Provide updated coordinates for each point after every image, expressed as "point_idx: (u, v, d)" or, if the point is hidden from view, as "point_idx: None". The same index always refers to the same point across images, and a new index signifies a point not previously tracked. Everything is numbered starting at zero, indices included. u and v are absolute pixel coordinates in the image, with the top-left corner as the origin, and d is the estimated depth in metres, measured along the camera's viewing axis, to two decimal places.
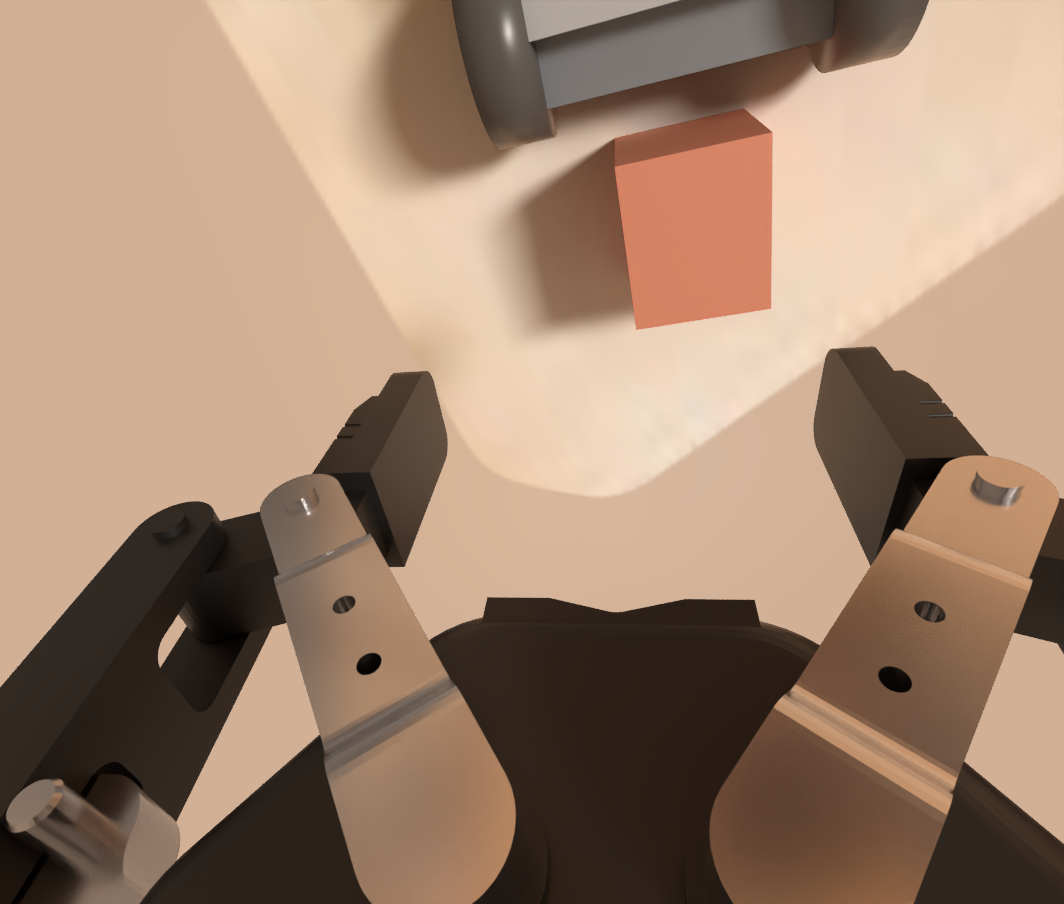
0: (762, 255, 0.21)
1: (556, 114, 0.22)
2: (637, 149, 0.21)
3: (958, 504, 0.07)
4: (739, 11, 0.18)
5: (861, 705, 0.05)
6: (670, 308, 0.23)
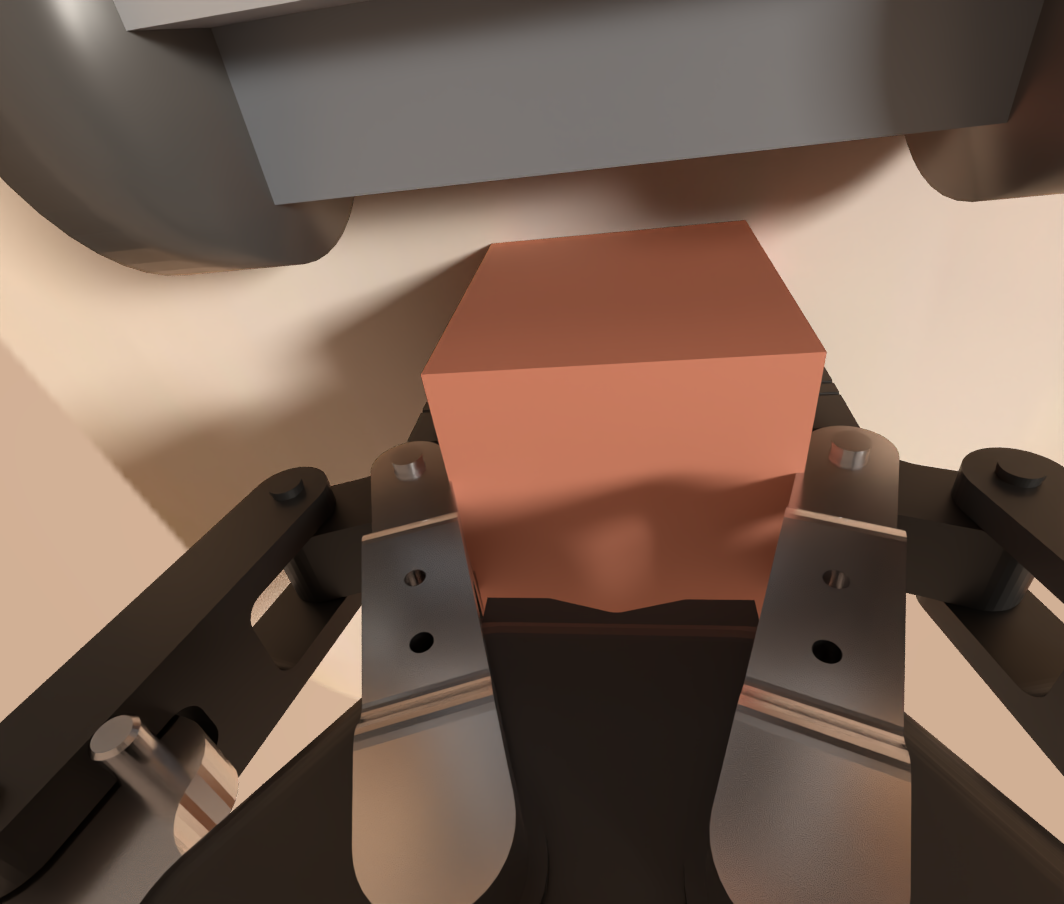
0: (764, 578, 0.09)
1: (350, 197, 0.10)
2: (505, 307, 0.09)
3: (825, 473, 0.08)
4: (766, 17, 0.06)
5: (806, 684, 0.05)
6: None
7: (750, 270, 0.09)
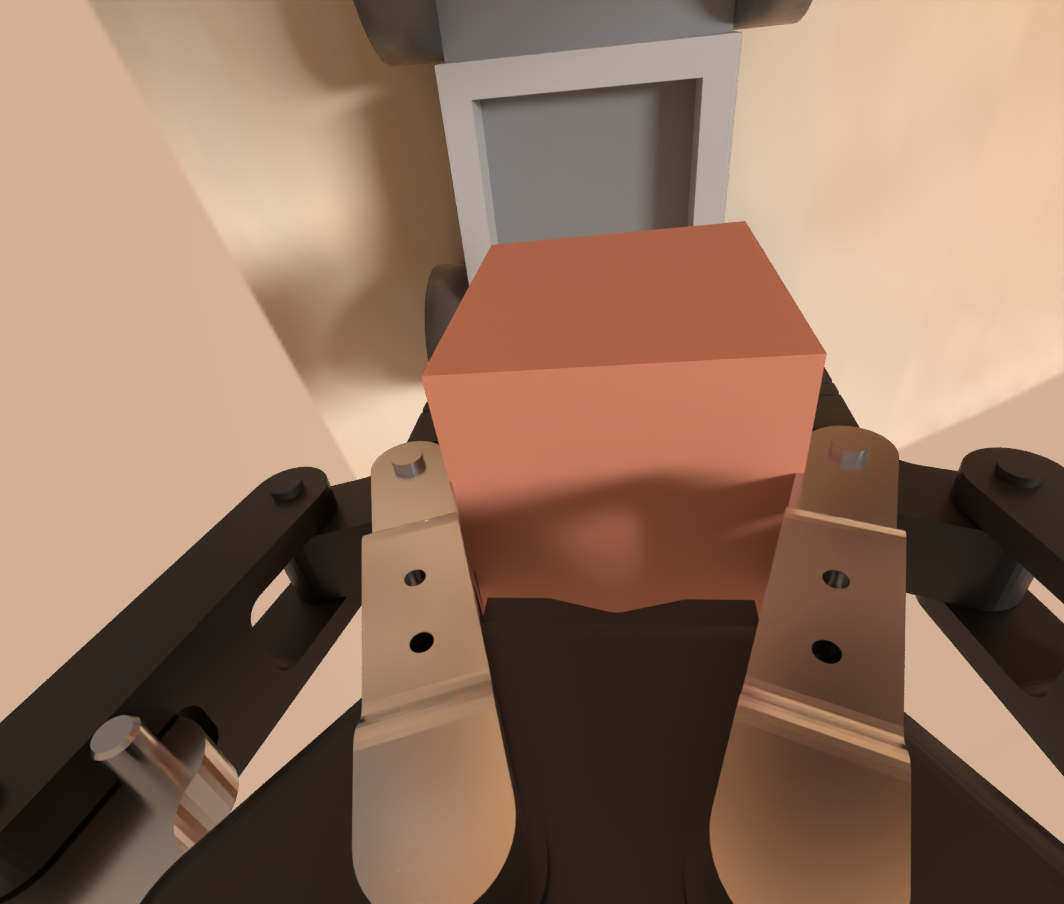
0: (764, 579, 0.09)
1: None
2: (505, 309, 0.09)
3: (825, 473, 0.08)
4: None
5: (806, 684, 0.05)
6: None
7: (750, 271, 0.09)
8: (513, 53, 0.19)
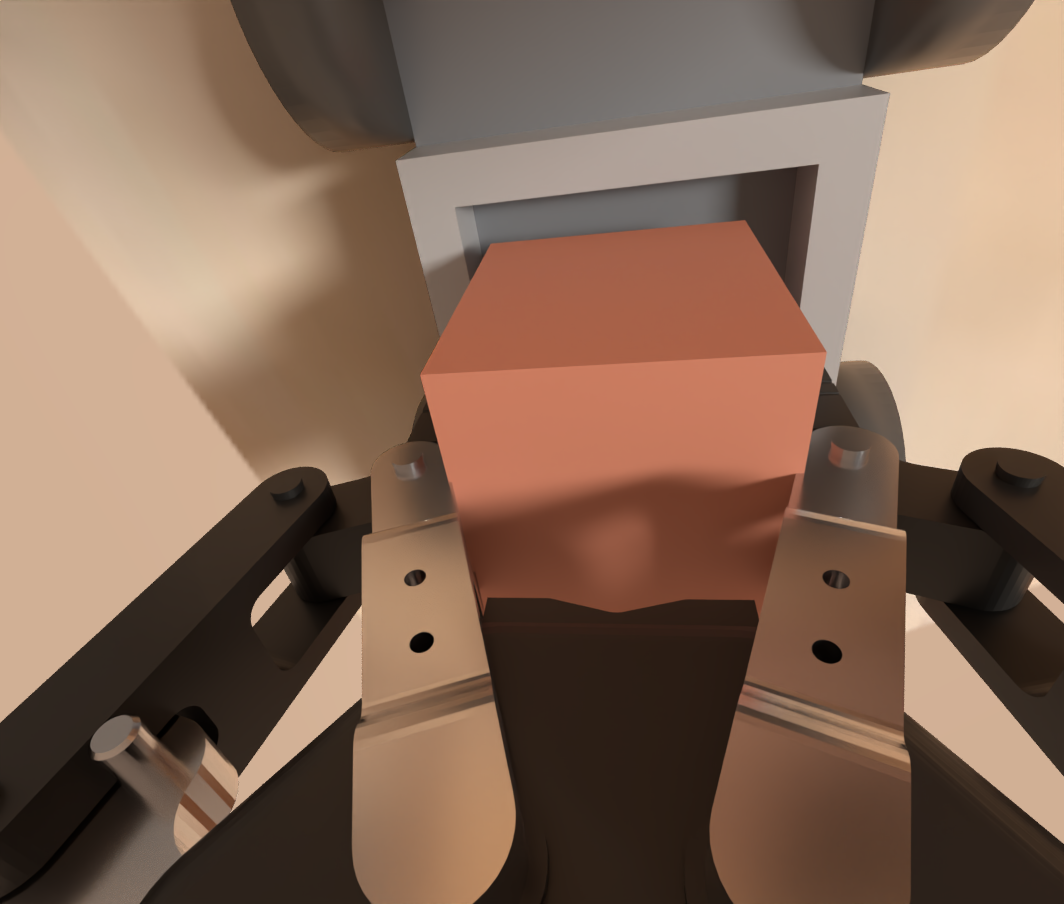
0: (764, 578, 0.09)
1: None
2: (504, 307, 0.09)
3: (824, 473, 0.08)
4: None
5: (806, 684, 0.05)
6: None
7: (750, 270, 0.09)
8: (516, 131, 0.12)
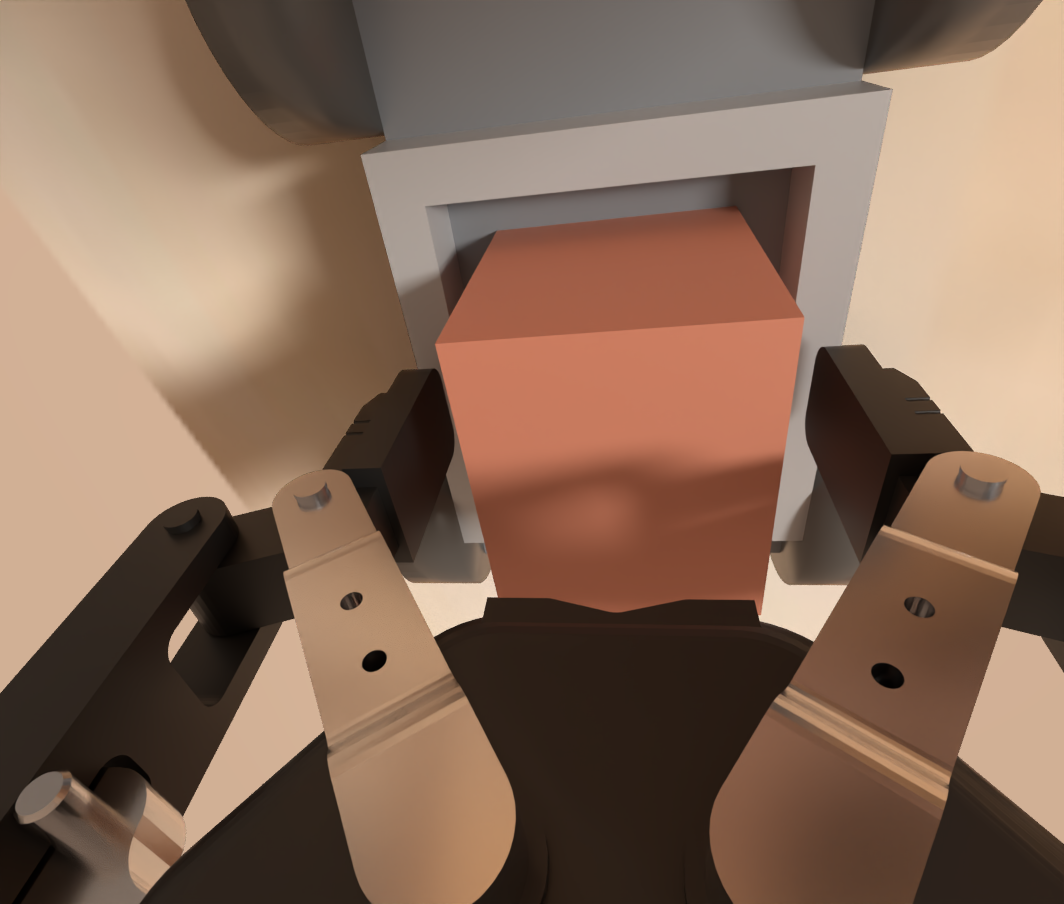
0: (753, 535, 0.10)
1: None
2: (511, 286, 0.10)
3: (943, 499, 0.07)
4: None
5: (855, 702, 0.05)
6: (566, 591, 0.11)
7: (738, 249, 0.10)
8: (493, 125, 0.12)
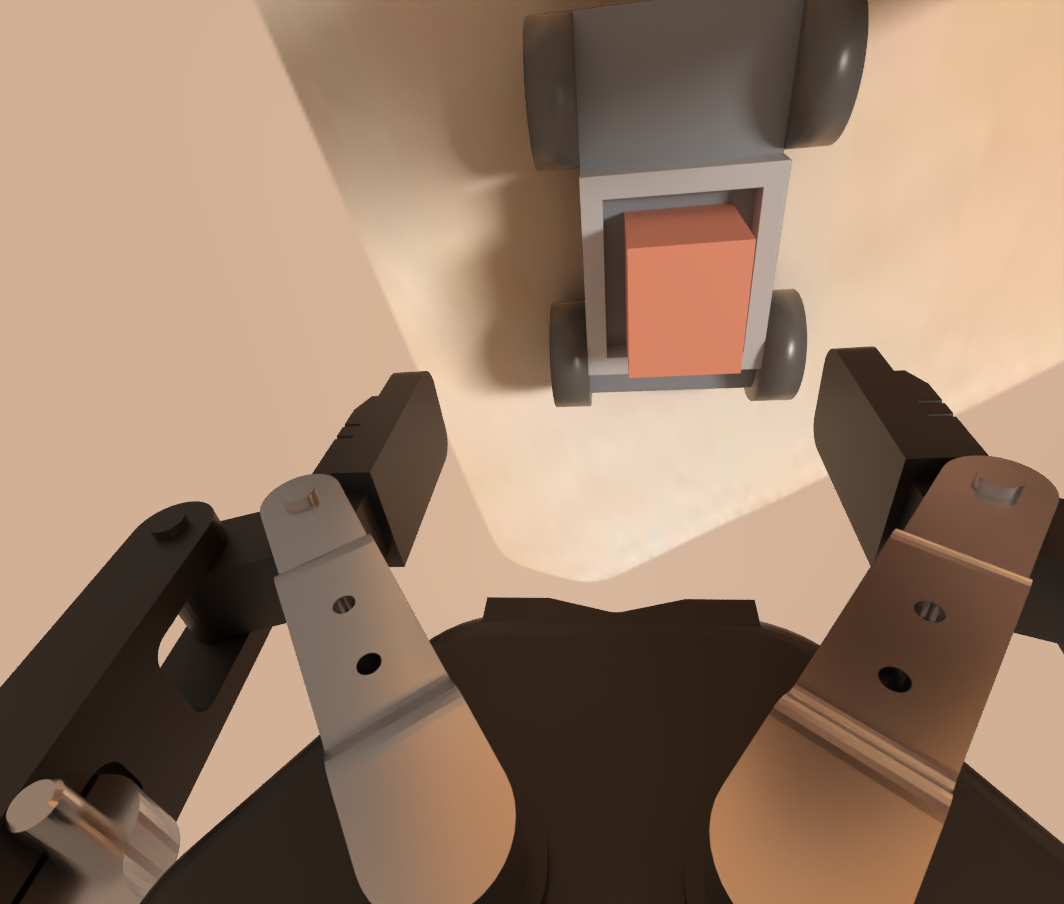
0: (738, 331, 0.26)
1: None
2: (645, 231, 0.25)
3: (958, 504, 0.07)
4: None
5: (860, 705, 0.05)
6: (659, 364, 0.27)
7: (733, 219, 0.26)
8: (629, 165, 0.27)
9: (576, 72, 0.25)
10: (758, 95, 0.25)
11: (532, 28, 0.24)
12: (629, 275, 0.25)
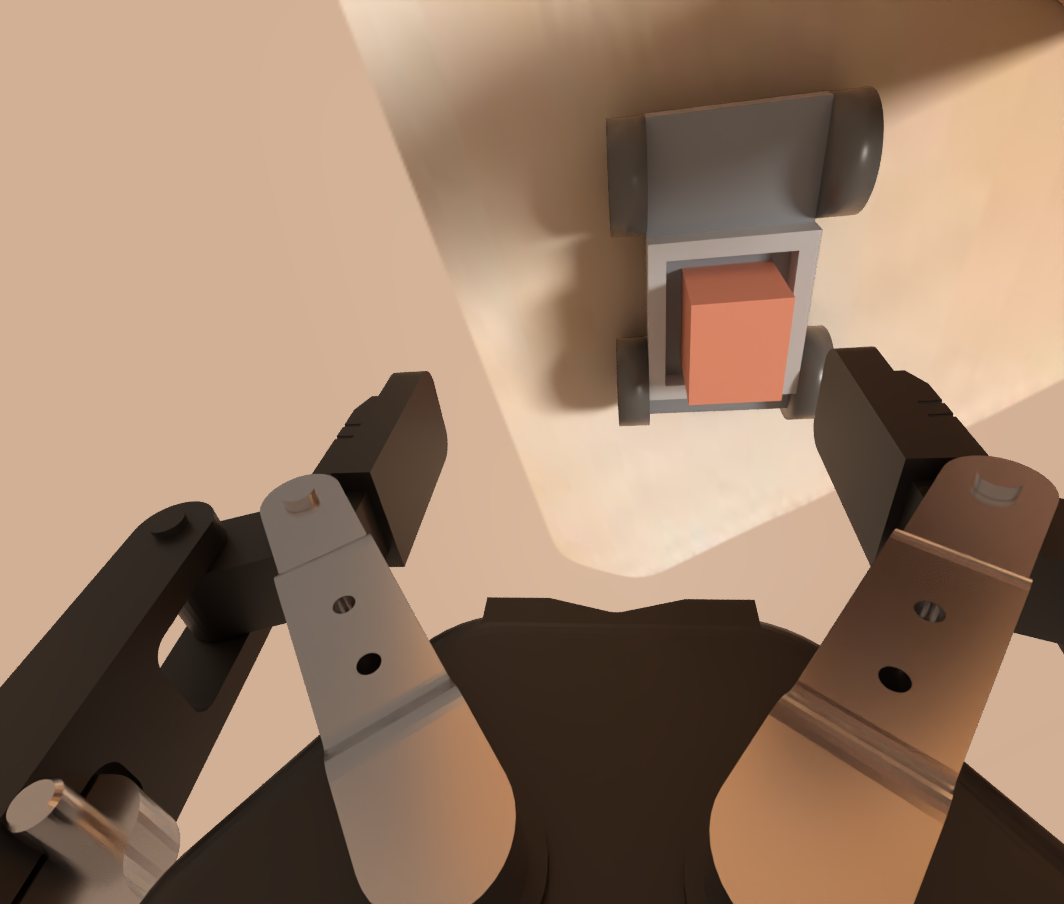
0: (780, 367, 0.32)
1: None
2: (703, 288, 0.32)
3: (958, 504, 0.07)
4: None
5: (861, 705, 0.05)
6: (714, 394, 0.33)
7: (775, 277, 0.32)
8: (687, 232, 0.33)
9: (646, 163, 0.31)
10: (794, 178, 0.31)
11: (613, 132, 0.30)
12: (692, 325, 0.31)
